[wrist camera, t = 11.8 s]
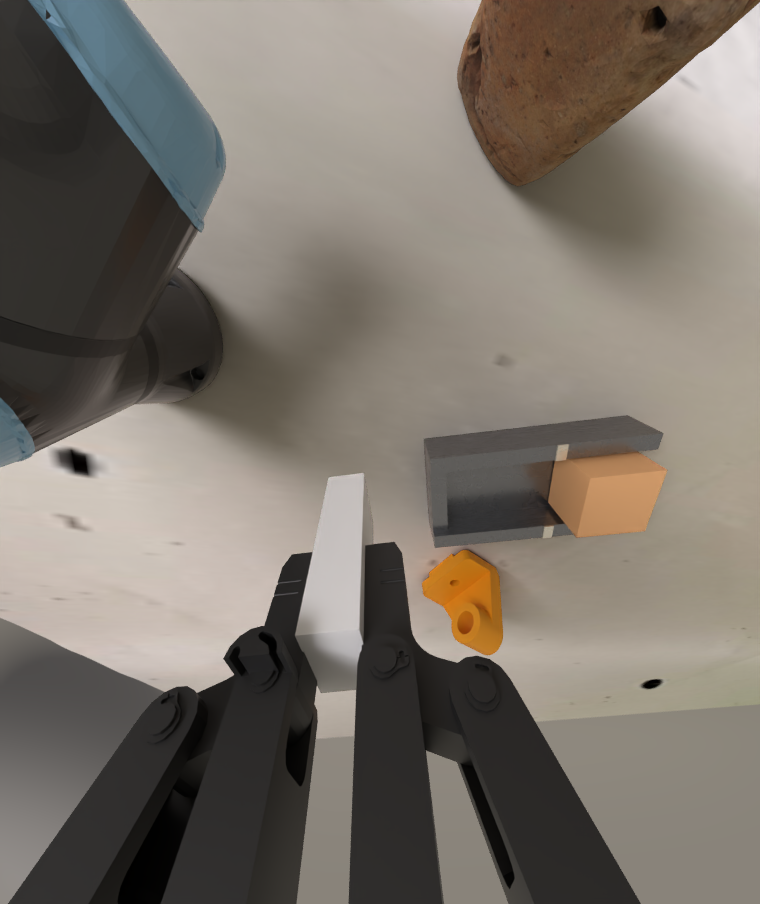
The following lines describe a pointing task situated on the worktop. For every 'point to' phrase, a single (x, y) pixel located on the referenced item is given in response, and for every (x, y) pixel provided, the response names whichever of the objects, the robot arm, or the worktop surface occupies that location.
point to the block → (573, 70)
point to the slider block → (605, 493)
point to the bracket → (469, 599)
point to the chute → (514, 476)
